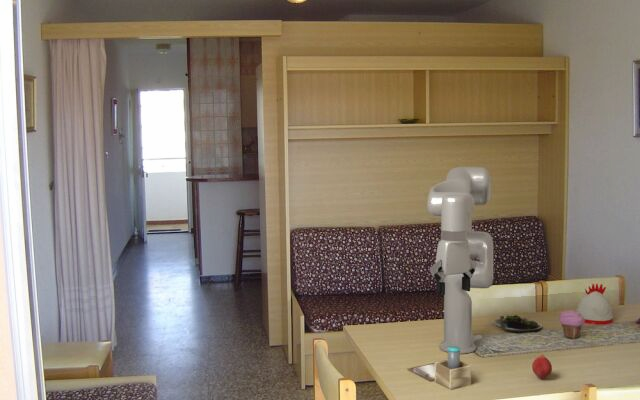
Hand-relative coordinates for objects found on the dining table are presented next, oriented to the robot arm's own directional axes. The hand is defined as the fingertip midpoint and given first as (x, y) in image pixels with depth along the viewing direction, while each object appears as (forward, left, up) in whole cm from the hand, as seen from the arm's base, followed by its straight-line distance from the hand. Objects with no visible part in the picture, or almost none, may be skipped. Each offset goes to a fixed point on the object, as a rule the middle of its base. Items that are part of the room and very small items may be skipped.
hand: (453, 292), depth 200 cm
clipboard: (-3, -11, -28) cm, 30 cm away
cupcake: (-68, -14, -28) cm, 75 cm away
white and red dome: (-94, -25, -29) cm, 101 cm away
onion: (-26, +11, -28) cm, 40 cm away
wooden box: (0, 0, -28) cm, 28 cm away
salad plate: (-60, -33, -29) cm, 74 cm away
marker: (0, 0, -28) cm, 28 cm away
